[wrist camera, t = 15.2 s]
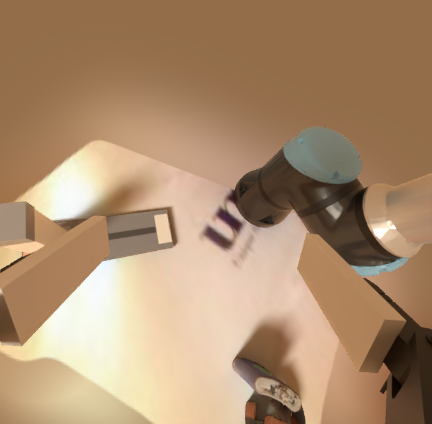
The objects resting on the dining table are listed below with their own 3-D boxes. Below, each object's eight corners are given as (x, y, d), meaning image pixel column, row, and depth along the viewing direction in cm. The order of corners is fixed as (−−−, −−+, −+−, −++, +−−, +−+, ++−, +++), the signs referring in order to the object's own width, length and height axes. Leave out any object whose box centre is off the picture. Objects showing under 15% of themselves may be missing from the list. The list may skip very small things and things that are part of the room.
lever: (71, 226, 36) (30, 195, 23) (73, 258, 34) (30, 244, 21) (43, 230, 34) (-18, 199, 21) (44, 263, 33) (-21, 251, 20)
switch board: (166, 211, 44) (167, 209, 42) (172, 247, 42) (173, 246, 40) (26, 228, 35) (21, 226, 33) (26, 275, 33) (21, 275, 31)
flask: (229, 368, 38) (258, 397, 29) (235, 352, 40) (265, 374, 30) (269, 388, 39) (309, 422, 30) (273, 371, 41) (313, 399, 31)
